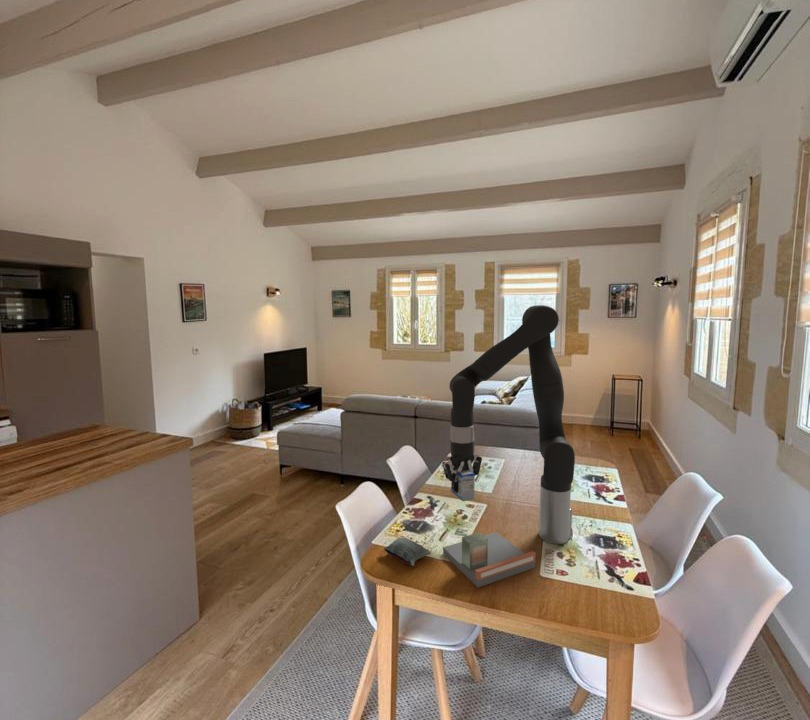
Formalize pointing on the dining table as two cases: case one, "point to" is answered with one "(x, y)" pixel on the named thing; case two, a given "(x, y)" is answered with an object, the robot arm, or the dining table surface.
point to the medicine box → (465, 485)
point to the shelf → (493, 560)
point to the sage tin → (474, 551)
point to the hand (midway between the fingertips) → (462, 489)
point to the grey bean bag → (406, 550)
